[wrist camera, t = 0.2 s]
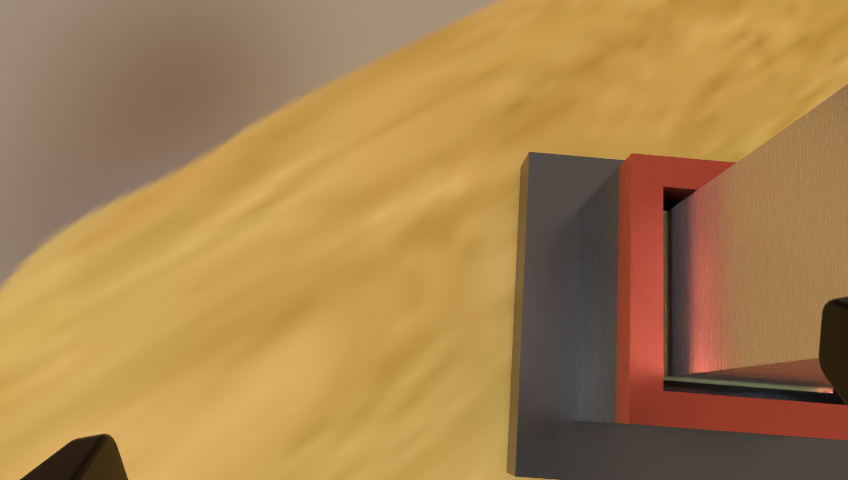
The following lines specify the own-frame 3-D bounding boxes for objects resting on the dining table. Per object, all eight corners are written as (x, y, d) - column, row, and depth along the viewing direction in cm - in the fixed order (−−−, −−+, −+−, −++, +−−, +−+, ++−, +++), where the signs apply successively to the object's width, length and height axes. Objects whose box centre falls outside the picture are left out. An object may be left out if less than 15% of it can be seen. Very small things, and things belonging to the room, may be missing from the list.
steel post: (756, 396, 22) (1170, 380, 10) (613, 385, 22) (872, 356, 10) (752, 255, 23) (1125, 97, 11) (615, 243, 23) (853, 70, 11)
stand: (821, 495, 23) (985, 527, 17) (506, 471, 23) (553, 495, 16) (807, 192, 25) (946, 119, 19) (520, 166, 25) (566, 84, 19)
